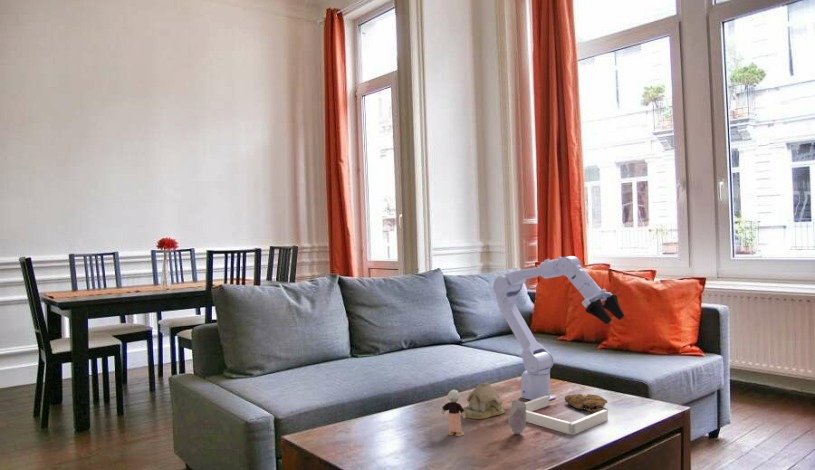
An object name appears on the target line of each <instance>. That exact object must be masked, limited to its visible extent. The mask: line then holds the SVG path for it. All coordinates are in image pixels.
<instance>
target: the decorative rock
mask: <svg viewBox="0 0 815 470" xmlns="http://www.w3.org/2000/svg"><path fill="white" fill-rule="evenodd" d="M564 401H565V403H567V404H568V405H570V406H571V407H573V408H575V409H579V410H584V411H586V410H587V411H586V412H588V413H591V414H594V413H596V412H599V411H601V410H604V408H605V405H606V404H607V403H608V400H607V399H605V398H604V397H602V396H600V395H597V394H589V393H577V394H568V395H566V396H564Z"/></svg>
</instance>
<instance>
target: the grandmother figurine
mask: <svg viewBox="0 0 815 470" xmlns="http://www.w3.org/2000/svg"><path fill="white" fill-rule="evenodd" d="M459 395H460V394H459V391H458V389H451V390H449V392H448V394H447V395H446V398H447V399H448V400H449V402H447V403H445V404H444V405H443V406H442V409H441V412H440V413H441V415H444V414H445V412H446V411H448V419H447V420H448V421H447V423H448V431H449V432H448V434H449V436H455V437H461V436H464V435H465V433H464V431H462V423H461V421H462V420H461V416H462V418H463V419H466V418H467V417H466V415H465V412H464V409H463V408H464V407H463V406H462V405H461V404H460V403H458V401H459ZM460 414H461V415H460ZM455 433H456V434H455Z"/></svg>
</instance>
